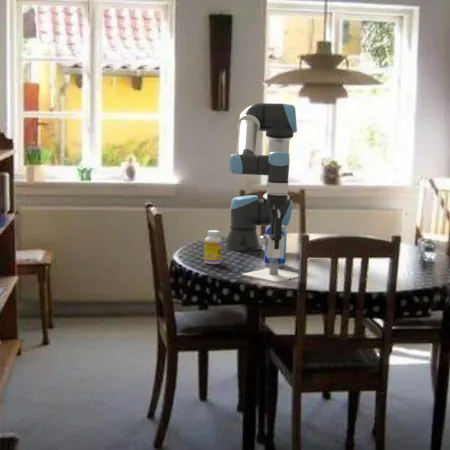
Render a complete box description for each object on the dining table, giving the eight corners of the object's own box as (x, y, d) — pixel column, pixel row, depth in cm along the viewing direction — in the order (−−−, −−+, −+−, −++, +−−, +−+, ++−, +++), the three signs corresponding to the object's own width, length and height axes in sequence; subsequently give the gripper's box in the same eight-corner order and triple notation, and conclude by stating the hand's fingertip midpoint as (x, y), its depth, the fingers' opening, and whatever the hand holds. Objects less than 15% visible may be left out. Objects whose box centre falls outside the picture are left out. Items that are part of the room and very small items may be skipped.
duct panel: (271, 269, 307) (271, 255, 306) (305, 276, 297) (305, 261, 296) (241, 275, 294) (242, 260, 293) (275, 282, 283) (276, 267, 283)
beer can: (261, 266, 313) (263, 225, 310) (267, 262, 321) (269, 223, 318) (281, 268, 310) (283, 227, 308) (287, 264, 318) (289, 225, 315)
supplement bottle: (218, 265, 311) (220, 232, 309) (202, 263, 312) (203, 231, 311) (222, 262, 318) (223, 230, 316) (206, 260, 319) (207, 229, 317)
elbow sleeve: (281, 255, 297) (282, 234, 296) (283, 258, 291) (284, 237, 290) (258, 255, 297) (258, 233, 296) (259, 257, 291) (260, 236, 290)
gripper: (264, 191, 300) (261, 251, 303) (270, 196, 281) (267, 260, 284) (283, 191, 300) (280, 251, 304) (291, 197, 282) (288, 261, 285)
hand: (274, 255), depth 294 cm, fingers closed on elbow sleeve, 6 cm apart
